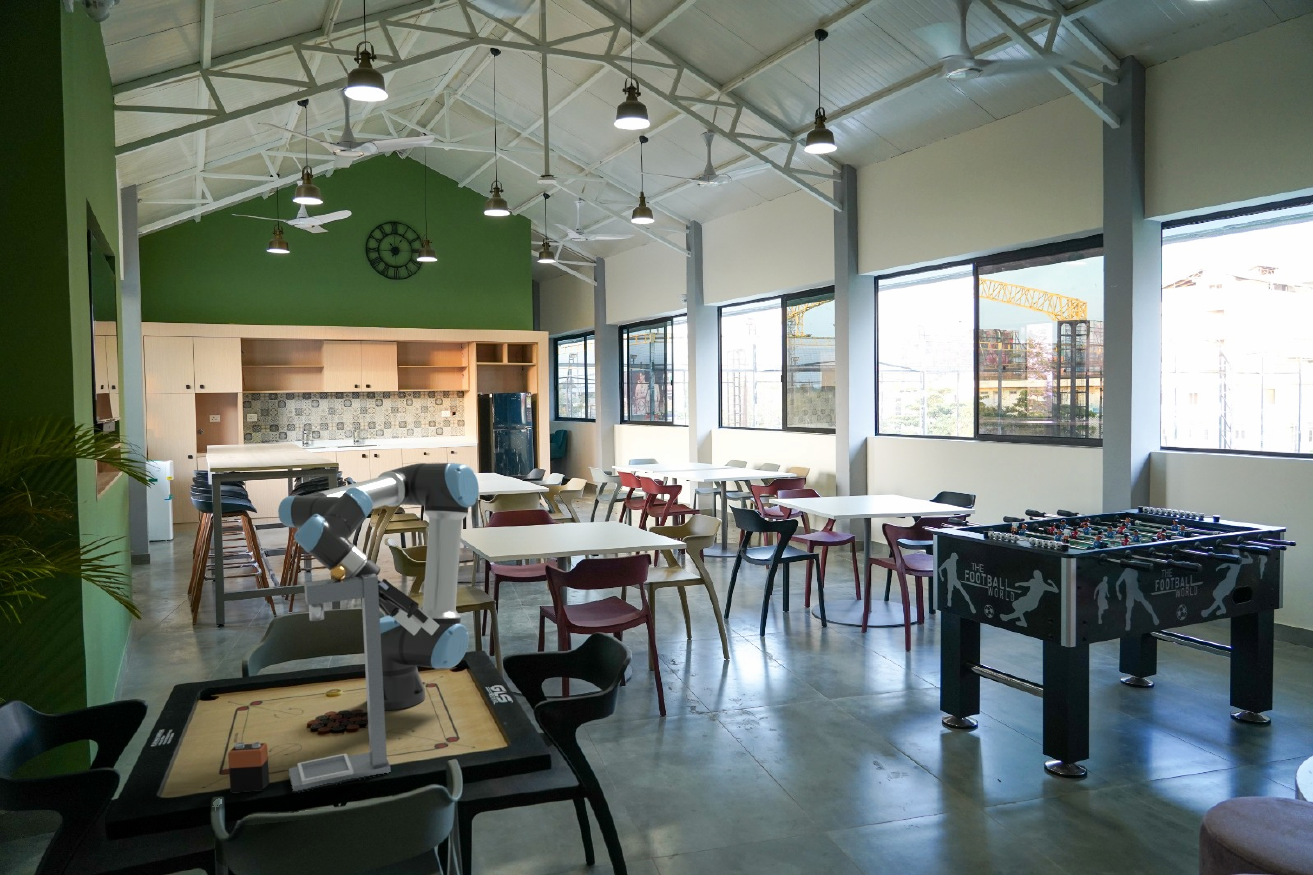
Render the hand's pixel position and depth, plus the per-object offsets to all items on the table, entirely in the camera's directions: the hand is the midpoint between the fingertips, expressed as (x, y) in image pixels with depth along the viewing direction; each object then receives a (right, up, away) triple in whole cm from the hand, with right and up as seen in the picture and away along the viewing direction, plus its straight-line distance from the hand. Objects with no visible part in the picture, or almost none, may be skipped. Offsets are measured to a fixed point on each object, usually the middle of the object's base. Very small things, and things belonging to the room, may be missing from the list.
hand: (426, 630), depth 211 cm
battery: (-33, -30, -16) cm, 48 cm away
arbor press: (-16, -29, -10) cm, 35 cm away
